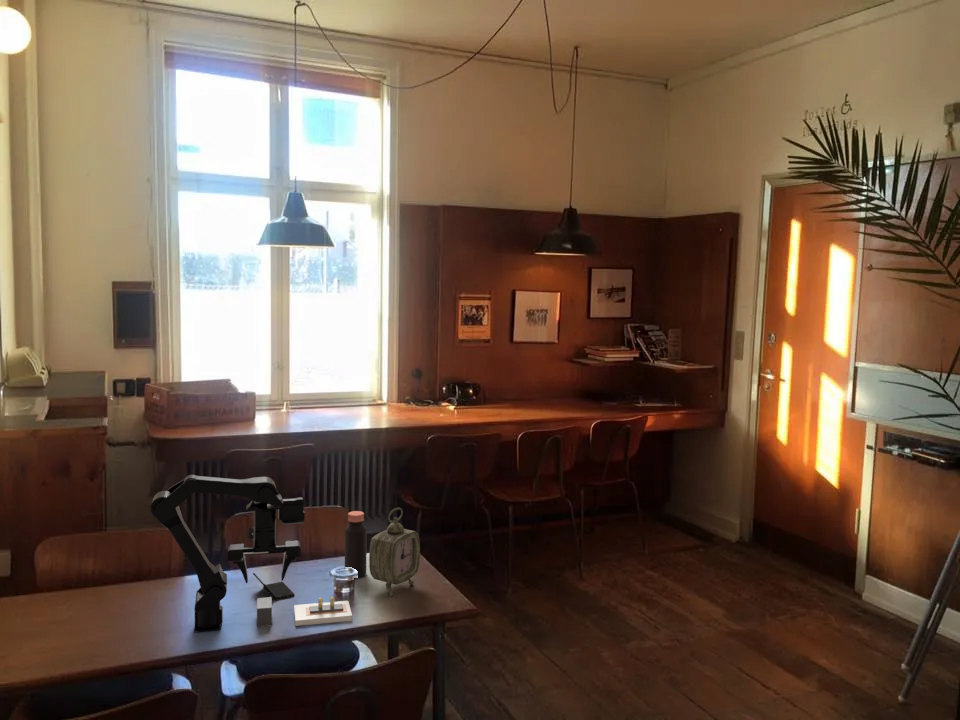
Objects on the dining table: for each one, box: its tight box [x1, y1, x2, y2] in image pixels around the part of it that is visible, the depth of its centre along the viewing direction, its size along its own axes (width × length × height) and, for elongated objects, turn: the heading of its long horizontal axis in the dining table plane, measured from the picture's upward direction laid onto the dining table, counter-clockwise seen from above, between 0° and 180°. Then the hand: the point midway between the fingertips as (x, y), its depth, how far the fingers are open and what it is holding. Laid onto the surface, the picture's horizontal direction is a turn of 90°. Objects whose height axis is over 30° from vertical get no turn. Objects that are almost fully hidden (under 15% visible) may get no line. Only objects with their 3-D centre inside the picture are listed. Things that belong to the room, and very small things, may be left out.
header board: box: [293, 596, 353, 627], centre depth 213 cm, size 15×10×5 cm, turn 105°
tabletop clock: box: [368, 507, 421, 598], centre depth 232 cm, size 14×9×25 cm, turn 150°
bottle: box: [344, 510, 368, 579], centre depth 242 cm, size 7×7×20 cm
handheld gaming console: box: [252, 572, 295, 601], centre depth 227 cm, size 12×7×10 cm
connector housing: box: [256, 596, 273, 628], centre depth 209 cm, size 7×4×5 cm, turn 15°
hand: (264, 581), depth 208 cm, fingers open, 9 cm apart
